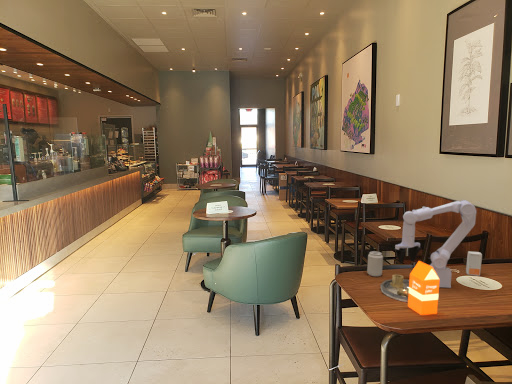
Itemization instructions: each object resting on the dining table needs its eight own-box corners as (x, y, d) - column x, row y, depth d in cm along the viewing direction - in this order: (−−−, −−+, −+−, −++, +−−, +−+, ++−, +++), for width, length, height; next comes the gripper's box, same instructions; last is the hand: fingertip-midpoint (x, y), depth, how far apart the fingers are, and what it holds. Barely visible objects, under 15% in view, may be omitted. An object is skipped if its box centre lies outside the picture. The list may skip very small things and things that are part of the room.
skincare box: (467, 274, 201) (469, 253, 200) (465, 272, 205) (467, 251, 204) (480, 276, 200) (482, 254, 198) (478, 273, 204) (480, 252, 202)
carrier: (426, 284, 186) (427, 276, 186) (444, 305, 163) (445, 295, 162) (376, 281, 189) (377, 273, 189) (387, 301, 166) (387, 292, 165)
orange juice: (420, 315, 153) (424, 267, 150) (407, 306, 161) (410, 260, 159) (437, 313, 155) (441, 266, 152) (423, 304, 163) (426, 259, 161)
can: (380, 272, 203) (381, 250, 202) (383, 277, 196) (384, 255, 194) (365, 271, 204) (367, 250, 202) (368, 276, 197) (369, 254, 195)
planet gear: (397, 282, 186) (398, 273, 186) (407, 286, 180) (408, 277, 180) (387, 284, 184) (388, 274, 183) (397, 288, 178) (397, 279, 177)
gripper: (413, 232, 195) (411, 258, 197) (391, 234, 189) (389, 261, 191) (424, 235, 188) (422, 262, 190) (401, 238, 183) (400, 265, 184)
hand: (406, 261), depth 190 cm, fingers open, 7 cm apart
